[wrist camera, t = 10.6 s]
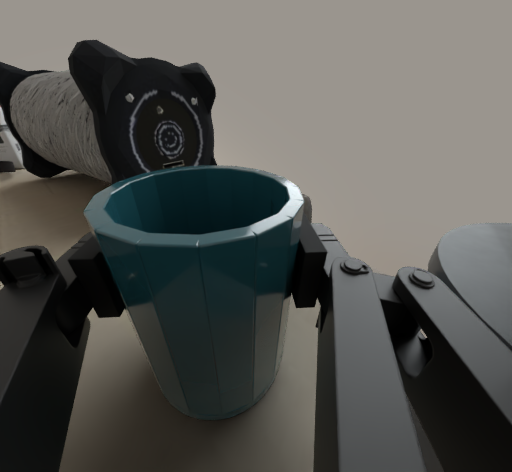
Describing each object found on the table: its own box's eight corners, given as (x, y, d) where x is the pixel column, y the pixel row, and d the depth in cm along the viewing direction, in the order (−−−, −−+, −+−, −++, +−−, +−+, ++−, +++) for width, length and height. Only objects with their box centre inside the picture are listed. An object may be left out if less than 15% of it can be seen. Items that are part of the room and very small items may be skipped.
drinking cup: (295, 321, 14) (320, 177, 9) (248, 456, 8) (249, 282, 4) (206, 288, 16) (188, 159, 11) (126, 378, 11) (28, 208, 6)
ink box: (33, 158, 47) (-7, 74, 40) (57, 159, 48) (22, 75, 40) (-5, 168, 40) (-64, 67, 32) (24, 169, 40) (-28, 69, 33)
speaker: (221, 65, 25) (226, 190, 33) (95, 74, 38) (120, 162, 46) (71, 28, 14) (130, 229, 22) (-34, 58, 27) (26, 178, 35)
